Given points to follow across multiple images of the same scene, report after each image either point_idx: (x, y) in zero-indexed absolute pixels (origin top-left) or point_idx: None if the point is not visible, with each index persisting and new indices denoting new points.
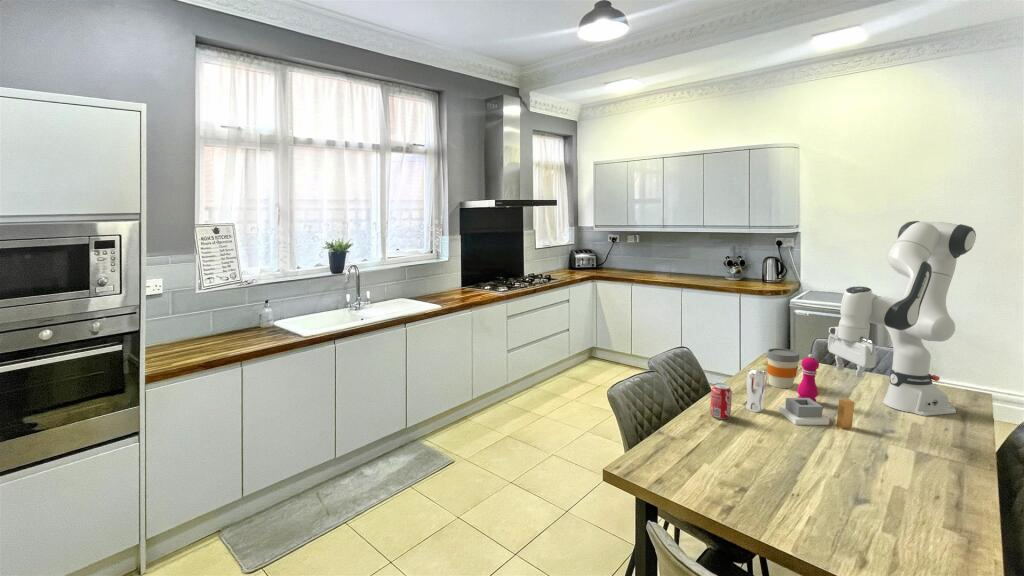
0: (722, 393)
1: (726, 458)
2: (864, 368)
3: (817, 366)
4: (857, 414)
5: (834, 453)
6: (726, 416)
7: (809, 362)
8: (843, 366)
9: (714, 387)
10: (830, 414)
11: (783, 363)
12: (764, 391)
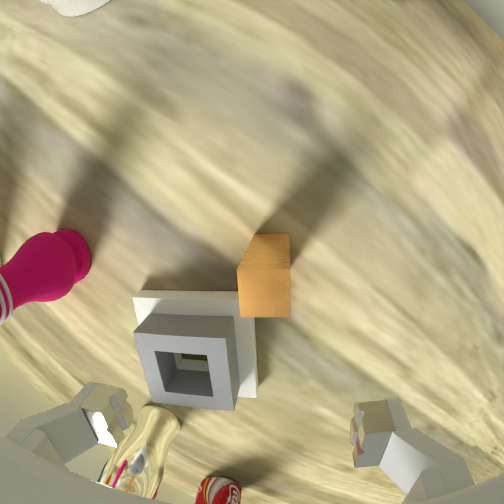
0: None
1: (392, 501)
2: (459, 470)
3: None
4: (148, 129)
5: (433, 370)
6: (240, 489)
7: None
8: (110, 398)
9: None
10: (157, 232)
11: None
12: (153, 456)
